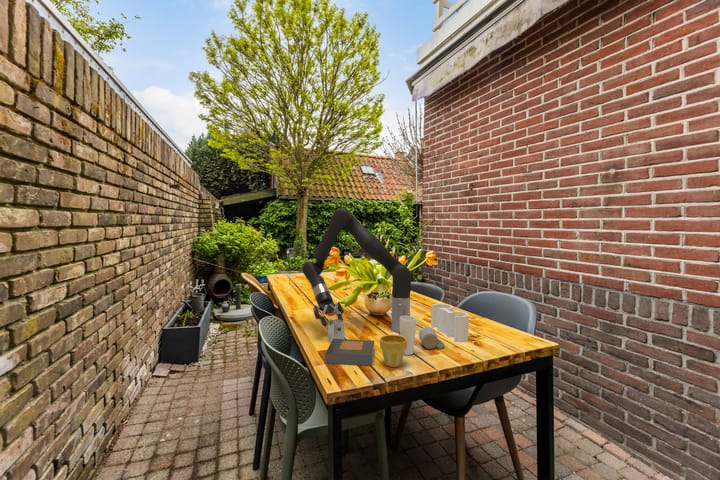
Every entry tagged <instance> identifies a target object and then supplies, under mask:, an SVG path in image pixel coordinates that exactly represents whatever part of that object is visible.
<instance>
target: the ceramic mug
mask: <svg viewBox="0 0 720 480" xmlns="http://www.w3.org/2000/svg"><path fill="white" fill-rule="evenodd" d="M418 337H419V340H420V342H421V345H422V346H423V347H424V348H425V349H428V350H434V349H435V348H436V347H438V348H440V349H443V348H444V347H445V343H444V342H443V341H442V340H440V339H439V338H438V336H437V333H436V331H435V329H433V328H432V327H431V326H430V327H429V326H425V327H422V328H421V329H420V330H419V333H418Z"/></svg>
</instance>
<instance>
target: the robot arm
mask: <svg viewBox="0 0 720 480" xmlns="http://www.w3.org/2000/svg"><path fill="white" fill-rule="evenodd" d="M343 229H345V231H347V232H348V233H349V234H350V235H351V236H352V237H353V239H354V240H355V242H357V245H358V246H360V247H359V248H361V249H362V251H364V253H366V254H367V255H368V256H369V257H370V258H371V259H373V260H374V261H376V262H377V263H379V264H380V265H381V266H383V267H384V269H385V270H386V271H387V272H388V273H389V275H391V277H392V289H391V324H390V325H391V331H392V332H395V333H400V317H401V316H411V292H412V291H411V289H412V273H411V271H410V269H409V268H408V267H407V266H406V265H404V263H402V262H400V261H399V260H398V259H397V258H396V257H394V256H393V255H392V254H391V252H390V251H389V250H388V248H387V247H386V246H385V245H384V244H383V242H381V240H380V239H379V238H377V237H376V235H374V234H373V233H372V232H371V231H370V230H368V229H367V228H366V227H364V225H362V224H361V223H360V222H359V221H358V220H357V218H355V216H354V215H353V214H352V212H351V211H350V210H349V209H347V208H345V207H340V208H337V209H335V210H334V211H333V214H332V217H331V220H330V222H329V224H328V226H327V229H326V231H325V233H324V235H323V237H322V239H321V240H320V242H319V243H318V244H317V247H315V248H316V249H315V250H314V252H313V255H312V256H313V258H314V259H315V260H316V261H315V262H313V261H306V262H303V265H302V273H303V276H305V278H306V280H307V281H308V282H309V283H310V286H311V289H312V291H313V295H314V298H315V300H316V303H317V305H314V307H313V308H312V311H313V313H314V317H315V319H316V320H320V322H321V325H322V326H323V327H327V326H328V322H327V320H326V318H325V315H329V314H333V315H335V316H336V317H337V319H340V320H342V321H344V318H343V314H344V313H345V311H344V309H343V306H342V304H341V302H339V301H338V302H337V303H334V299H333V297H332V294H331V292H330V290H329V288H328V285H327V284H326V282H325V279H324V277H323V276H321V274H322V273H323V270H324V267H325V263H326V260H327V258H328V256H329V255H330V252H332V249H333V247H334V246H335V245H334V244H335V241H336V239H337V238H338V236H339V235H340V233H341V231H342V230H343ZM319 311H320V312H319Z"/></svg>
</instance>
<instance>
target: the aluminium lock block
mask: <svg viewBox="0 0 720 480" xmlns="http://www.w3.org/2000/svg"><path fill="white" fill-rule="evenodd" d="M345 325H346V324H345V320H343V321H342V320H340V319H338V318H334V319H333V318H332V319H329V320H327V341H328V342H329V343H331V342H332V340H333V339H345Z"/></svg>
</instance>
